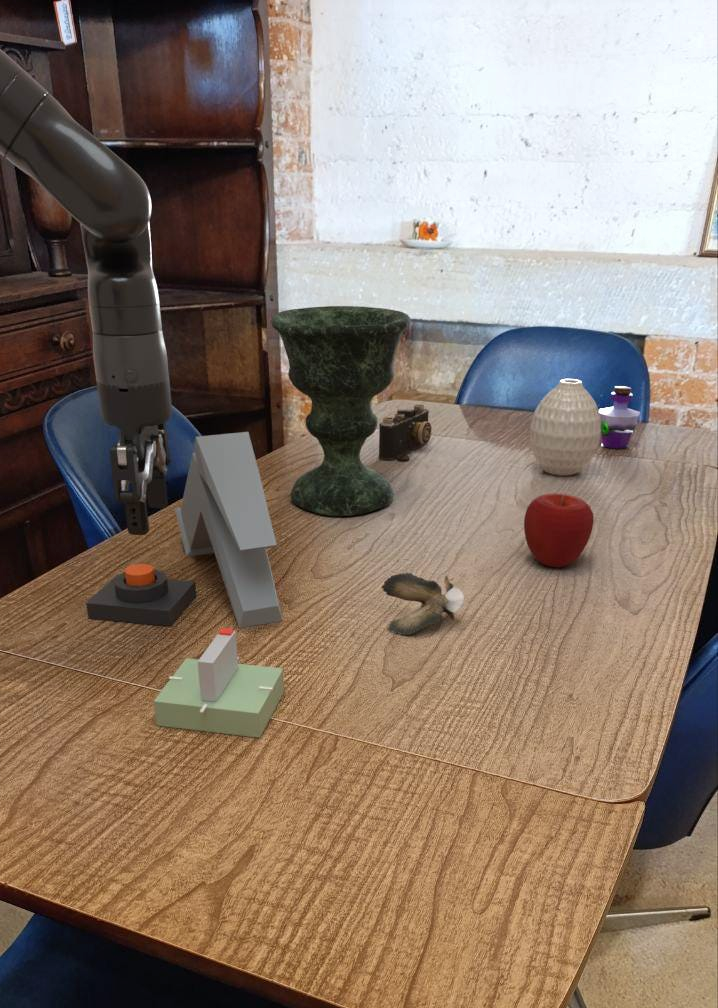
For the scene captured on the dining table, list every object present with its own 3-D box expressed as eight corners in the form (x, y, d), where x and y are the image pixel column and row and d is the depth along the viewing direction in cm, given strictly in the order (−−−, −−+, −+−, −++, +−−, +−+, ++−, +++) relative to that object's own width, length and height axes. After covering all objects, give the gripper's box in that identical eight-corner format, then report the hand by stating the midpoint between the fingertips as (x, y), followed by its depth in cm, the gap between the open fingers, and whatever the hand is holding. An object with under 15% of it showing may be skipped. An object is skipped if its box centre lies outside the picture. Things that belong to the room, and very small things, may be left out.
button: (121, 586, 110) (119, 573, 110) (133, 575, 114) (131, 562, 113) (148, 588, 110) (146, 576, 109) (159, 577, 113) (158, 564, 112)
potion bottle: (585, 446, 181) (593, 387, 175) (605, 437, 186) (612, 380, 181) (624, 454, 176) (633, 393, 170) (643, 445, 181) (652, 386, 176)
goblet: (258, 514, 144) (248, 322, 130) (302, 474, 163) (298, 303, 149) (388, 527, 139) (392, 329, 125) (418, 484, 158) (424, 308, 144)
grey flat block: (216, 702, 88) (212, 660, 85) (201, 700, 88) (197, 659, 86) (238, 667, 94) (235, 628, 91) (224, 666, 94) (221, 627, 92)
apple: (589, 578, 122) (598, 509, 117) (519, 572, 124) (526, 505, 119) (586, 552, 130) (595, 487, 126) (521, 547, 132) (527, 483, 127)
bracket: (215, 675, 123) (238, 601, 100) (174, 508, 131) (186, 406, 108) (271, 664, 125) (305, 590, 103) (227, 501, 133) (250, 400, 111)
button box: (88, 618, 110) (83, 589, 109) (119, 589, 118) (115, 561, 116) (170, 626, 109) (167, 597, 107) (196, 596, 116) (194, 568, 114)
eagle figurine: (433, 593, 115) (372, 593, 111) (458, 560, 109) (395, 560, 105) (451, 642, 111) (389, 644, 107) (478, 612, 106) (413, 613, 102)
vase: (602, 466, 168) (615, 378, 160) (585, 485, 158) (597, 391, 150) (537, 457, 173) (546, 371, 165) (517, 475, 163) (525, 383, 155)
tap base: (151, 731, 88) (147, 705, 87) (191, 676, 98) (188, 651, 96) (257, 744, 86) (255, 717, 85) (288, 687, 96) (286, 662, 95)
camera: (403, 464, 169) (404, 422, 165) (373, 458, 172) (374, 418, 168) (442, 444, 181) (444, 405, 178) (414, 439, 185) (415, 401, 181)
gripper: (117, 361, 99) (133, 499, 107) (75, 389, 87) (97, 542, 94) (182, 362, 99) (194, 500, 106) (150, 390, 86) (166, 544, 94)
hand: (149, 520), depth 100 cm, fingers open, 8 cm apart
